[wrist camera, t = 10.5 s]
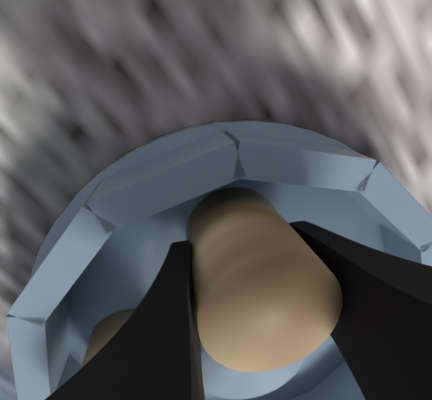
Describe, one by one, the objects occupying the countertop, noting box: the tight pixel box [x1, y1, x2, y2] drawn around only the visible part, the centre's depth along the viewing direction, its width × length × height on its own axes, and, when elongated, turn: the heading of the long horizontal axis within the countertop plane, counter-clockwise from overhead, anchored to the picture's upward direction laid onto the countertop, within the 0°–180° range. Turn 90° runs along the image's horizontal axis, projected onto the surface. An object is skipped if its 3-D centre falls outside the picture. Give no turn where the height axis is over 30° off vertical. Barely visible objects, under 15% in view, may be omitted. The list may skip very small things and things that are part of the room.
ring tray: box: [6, 120, 432, 400], centre depth 14 cm, size 20×20×4 cm
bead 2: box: [186, 187, 343, 372], centre depth 10 cm, size 4×4×5 cm
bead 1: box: [81, 309, 135, 368], centre depth 12 cm, size 4×4×5 cm
